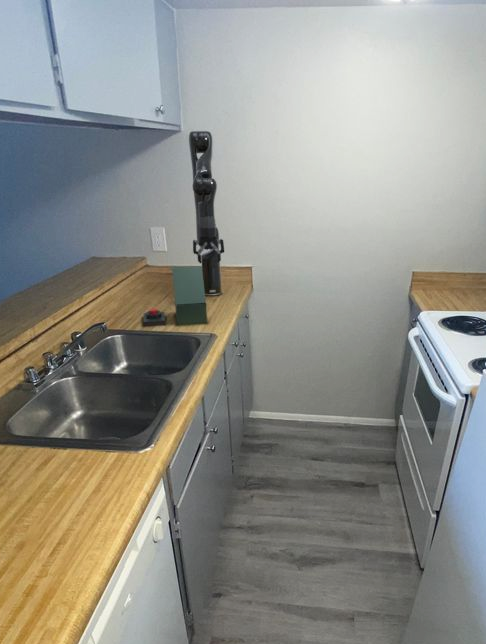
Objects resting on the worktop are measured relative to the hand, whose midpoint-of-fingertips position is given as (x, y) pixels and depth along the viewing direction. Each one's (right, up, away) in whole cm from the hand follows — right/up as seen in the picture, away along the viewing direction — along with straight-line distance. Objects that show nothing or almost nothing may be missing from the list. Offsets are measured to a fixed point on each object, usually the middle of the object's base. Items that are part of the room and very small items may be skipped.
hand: (209, 262), depth 221 cm
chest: (-7, -28, -10) cm, 31 cm away
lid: (-6, -16, -20) cm, 26 cm away
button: (-22, -27, -15) cm, 38 cm away
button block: (-22, -30, -14) cm, 40 cm away
